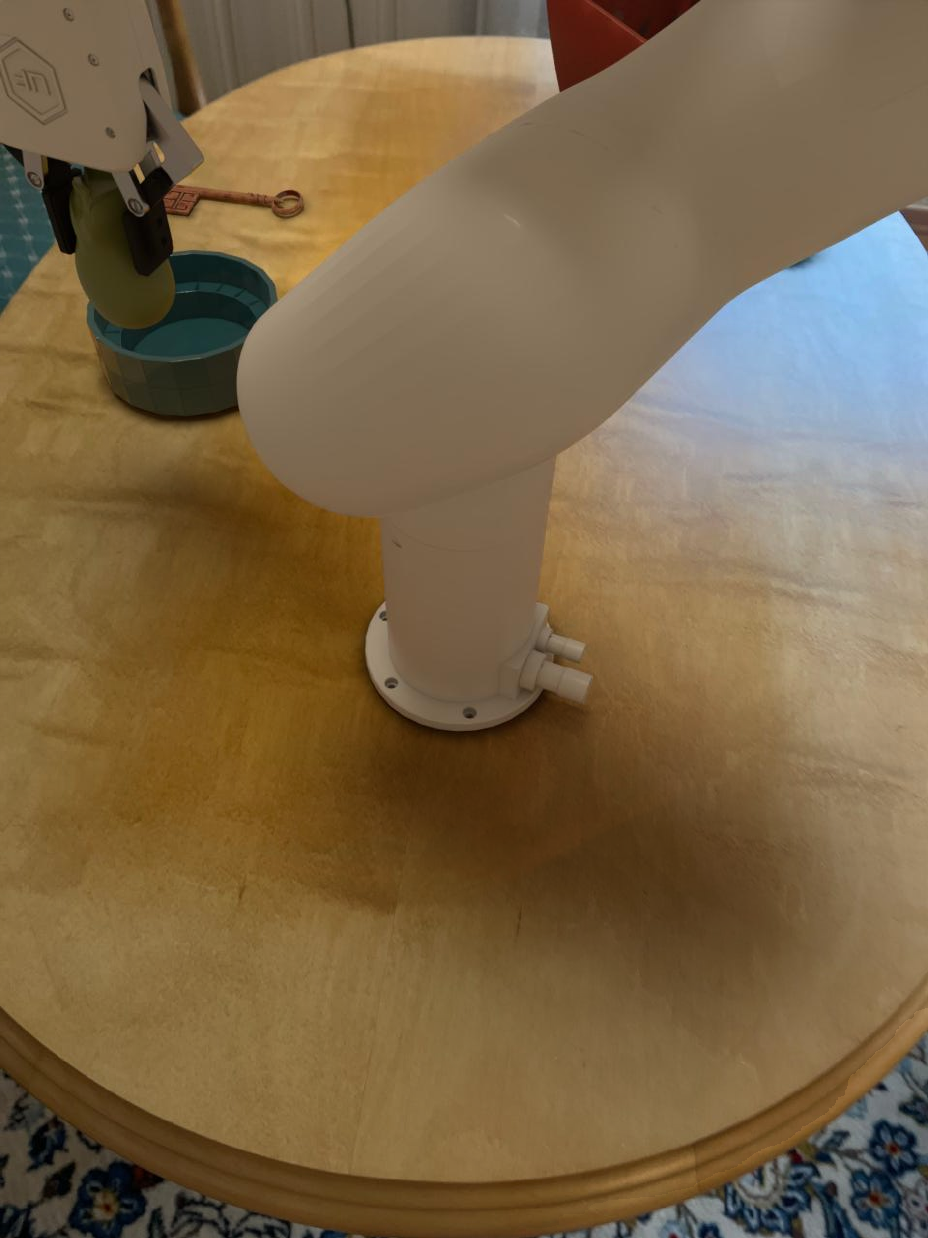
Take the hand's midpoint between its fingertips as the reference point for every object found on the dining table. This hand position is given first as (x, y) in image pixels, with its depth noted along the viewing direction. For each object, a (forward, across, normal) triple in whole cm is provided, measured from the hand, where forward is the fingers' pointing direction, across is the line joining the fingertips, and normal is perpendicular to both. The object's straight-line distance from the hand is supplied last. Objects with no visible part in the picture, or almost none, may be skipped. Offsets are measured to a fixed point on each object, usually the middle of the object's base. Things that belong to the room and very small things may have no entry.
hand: (117, 250), depth 60 cm
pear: (+5, 0, 0) cm, 5 cm away
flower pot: (+20, +20, +63) cm, 69 cm away
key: (+20, -17, +36) cm, 45 cm away
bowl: (+20, -6, +13) cm, 24 cm away
